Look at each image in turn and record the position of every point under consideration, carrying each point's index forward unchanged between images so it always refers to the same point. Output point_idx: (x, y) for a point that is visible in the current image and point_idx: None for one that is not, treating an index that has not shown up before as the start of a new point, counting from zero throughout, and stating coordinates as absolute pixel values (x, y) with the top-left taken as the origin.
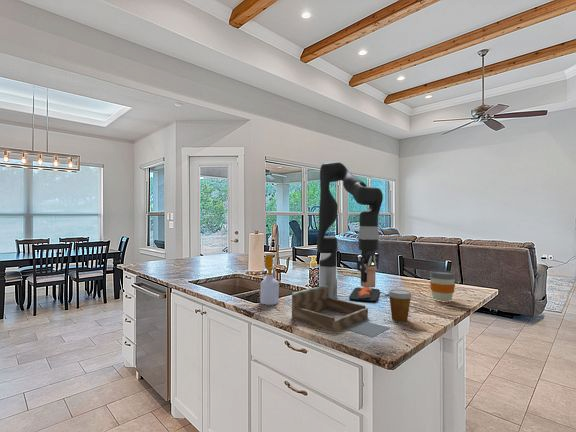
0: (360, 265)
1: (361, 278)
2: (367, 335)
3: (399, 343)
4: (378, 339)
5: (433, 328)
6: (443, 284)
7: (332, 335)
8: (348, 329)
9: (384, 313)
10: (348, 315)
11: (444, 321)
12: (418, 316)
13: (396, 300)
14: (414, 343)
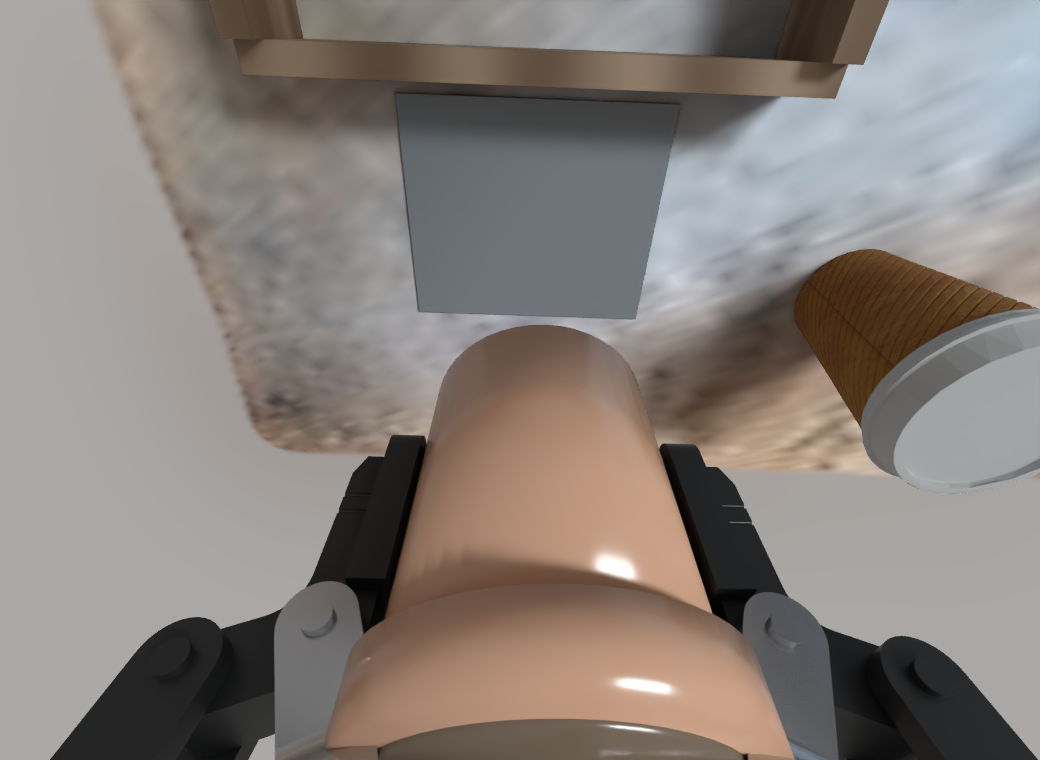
0: (372, 732)
1: (350, 493)
2: (416, 280)
3: None
4: (418, 342)
5: (752, 455)
6: None
7: (216, 100)
8: (406, 128)
9: (991, 146)
10: (481, 72)
11: None
12: None
13: (861, 388)
14: None
